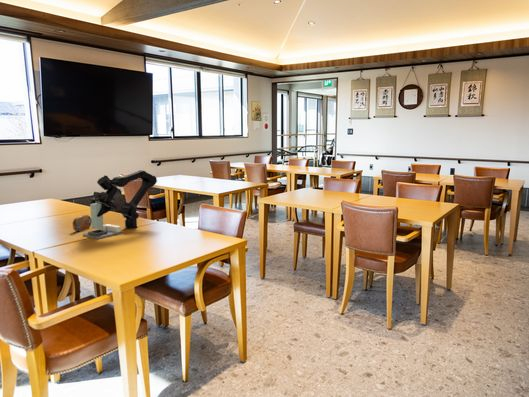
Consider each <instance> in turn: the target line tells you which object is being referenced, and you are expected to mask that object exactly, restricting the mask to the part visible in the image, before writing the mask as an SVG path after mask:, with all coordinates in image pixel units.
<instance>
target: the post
mask: <svg viewBox="0 0 529 397" xmlns="http://www.w3.org/2000/svg"><path fill="white" fill-rule="evenodd" d="M89 206H90V207H89V208H90V218H91V229H95V230H98V229H99V228H103V225H104V214H103V215H101V216H100V217H97V215H98V213H99V211H100V210H101V207H102V204H100V203H95V204H91V203H90V204H89Z"/></svg>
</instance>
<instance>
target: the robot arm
mask: <svg viewBox="0 0 529 397" xmlns="http://www.w3.org/2000/svg"><path fill="white" fill-rule="evenodd" d="M138 179H140V180H141V181H142V182H141V185H140V187H139V188H138V190H137V191H136V193H135V194H134V196H133V197H132V198H131V200H130V201H129V202H125V203H123V205H122V206H121V208H120V209H121V210H120V211H121V215H122V217H123V218H124V227H125V228H126V229H127V230H129V229H138V227H139V226H138V222H137V221H138V219H139V218H140V214H139V213H138V212H137V210H138V205H139V204H140V202H141V201H142V199H143V198H144V197H145V195H146V194H147V192H148V191H149V189H151V188H153V187H155V185H156V184H157V183H158V179H157V177H156V175H153V174H150V173H149V172H147V171H145V170H142V169H141V170H137V171H135V172H132V173H129V174H127V175H123V176H114V177H113V178H112V179H111V178H109V176H108V175H103V176H102V177H100V178H98V180H97V181H96V182H97V185H99V187H100V188H101V189H103V190H104V191H100V192H98V191H94V192H93V194H92V198H90V200H89V201H88V203H90V204H95V203H100V204H102V207H101V210H100V211H99V213H98V215H97V217H100V216H101V215H103V216H104V215H105V214H107V213H108V212H111V211H116V210H117V209H118V206H117V204H115V203H114V202H113V201H115V197H116V196H117V194H122V190H121V188H123V187H125V186H127V185H128V184H129V183H130V182H134V181H136V180H138Z"/></svg>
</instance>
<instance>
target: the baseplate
mask: <svg viewBox="0 0 529 397" xmlns="http://www.w3.org/2000/svg"><path fill="white" fill-rule="evenodd" d="M124 233H125V231H124V230H122V227H121V226H120V225H115V224H111V223H110V224H109V223H106V224H103V228H99V229H95V230H91V231H87V232H86V233H83V234H82V237H87V238H91V239H95V240H102V239H105V238H109V237H112V236H113V237H114V236H116V235H120V234H124Z"/></svg>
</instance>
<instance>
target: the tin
mask: <svg viewBox="0 0 529 397" xmlns="http://www.w3.org/2000/svg"><path fill="white" fill-rule="evenodd" d="M90 227H92V223H91V215H86V214H85V215H82V216H81V215H80V216H79V217H76V218H73V220H72V229H73V231H75V232H82V231H85V230H88V229H89V228H90Z"/></svg>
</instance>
